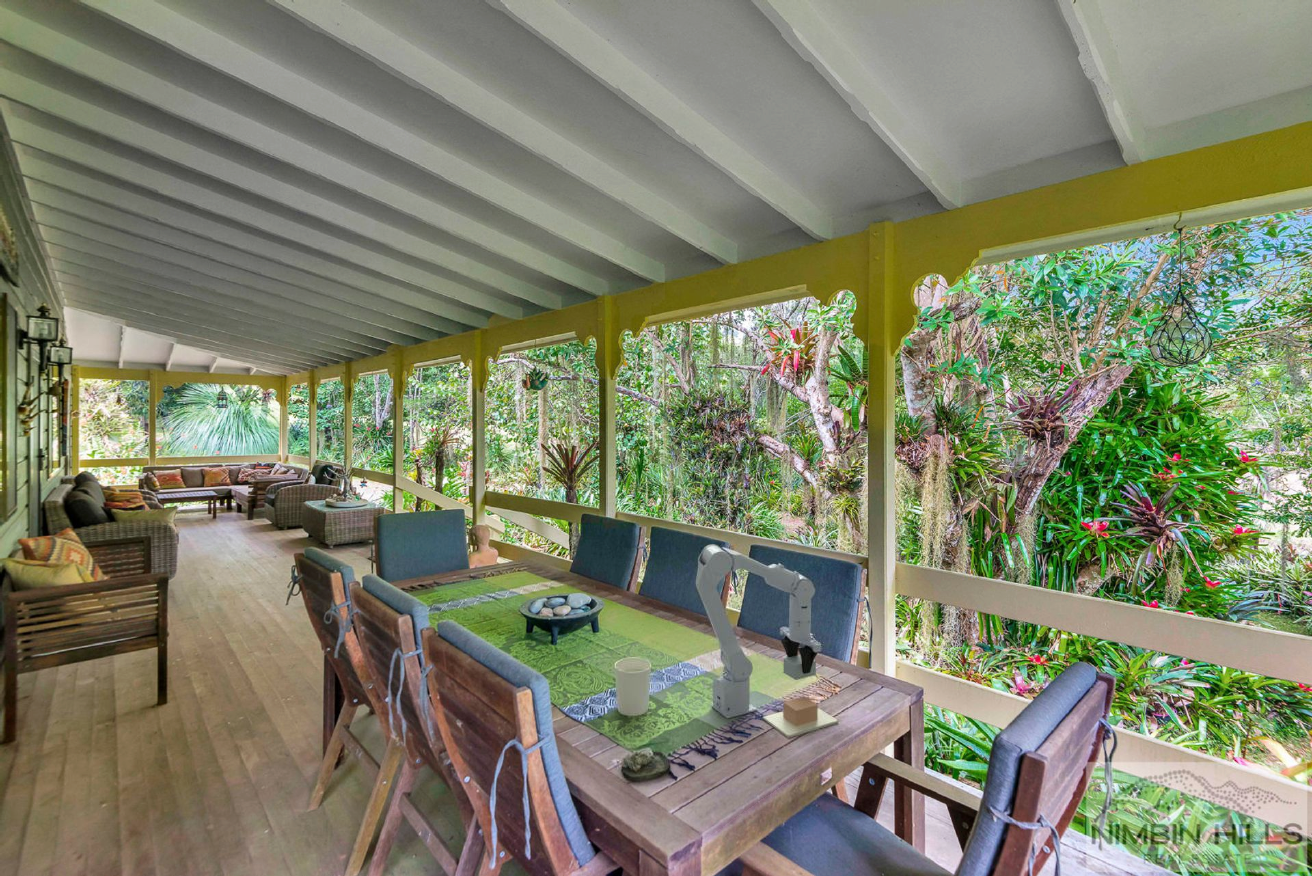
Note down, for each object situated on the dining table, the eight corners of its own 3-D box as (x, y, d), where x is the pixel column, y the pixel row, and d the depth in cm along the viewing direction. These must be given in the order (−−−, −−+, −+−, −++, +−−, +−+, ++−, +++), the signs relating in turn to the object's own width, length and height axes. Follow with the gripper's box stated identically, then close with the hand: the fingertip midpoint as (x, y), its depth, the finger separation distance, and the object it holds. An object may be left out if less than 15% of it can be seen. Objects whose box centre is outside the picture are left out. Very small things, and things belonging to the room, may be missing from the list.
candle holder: (609, 714, 153) (608, 669, 152) (622, 697, 162) (621, 655, 162) (644, 720, 150) (644, 674, 149) (655, 702, 159) (655, 659, 159)
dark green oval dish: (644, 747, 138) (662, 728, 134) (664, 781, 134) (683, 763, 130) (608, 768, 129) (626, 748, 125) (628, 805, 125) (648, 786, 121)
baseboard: (788, 737, 141) (788, 735, 141) (763, 719, 150) (763, 716, 150) (837, 722, 148) (837, 720, 148) (811, 705, 157) (811, 703, 157)
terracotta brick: (795, 726, 146) (796, 710, 145) (783, 717, 150) (783, 702, 150) (817, 720, 149) (817, 704, 148) (804, 711, 153) (804, 696, 153)
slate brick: (795, 680, 155) (795, 665, 155) (783, 672, 160) (783, 658, 159) (815, 674, 158) (815, 660, 158) (803, 667, 163) (803, 653, 163)
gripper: (830, 625, 154) (829, 676, 154) (793, 609, 167) (793, 656, 167) (809, 629, 151) (809, 681, 151) (774, 613, 164) (773, 661, 164)
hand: (799, 668), depth 159 cm, fingers closed on slate brick, 5 cm apart
